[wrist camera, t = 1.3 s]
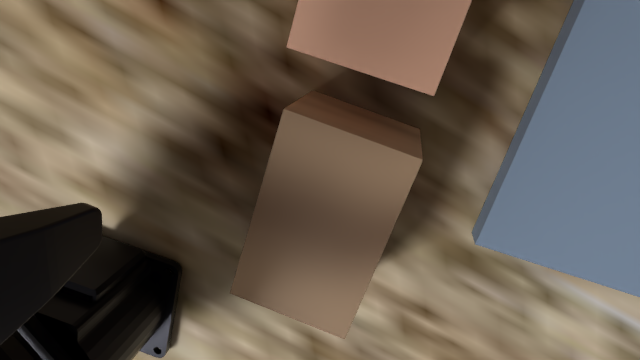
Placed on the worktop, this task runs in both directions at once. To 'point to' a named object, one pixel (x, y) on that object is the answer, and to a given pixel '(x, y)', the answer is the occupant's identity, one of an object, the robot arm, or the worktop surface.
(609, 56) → the base plate
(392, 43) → the terracotta block
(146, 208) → the worktop surface
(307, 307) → the walnut block
